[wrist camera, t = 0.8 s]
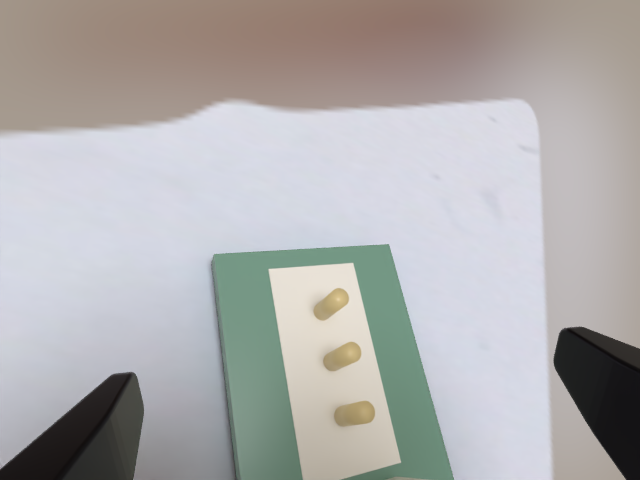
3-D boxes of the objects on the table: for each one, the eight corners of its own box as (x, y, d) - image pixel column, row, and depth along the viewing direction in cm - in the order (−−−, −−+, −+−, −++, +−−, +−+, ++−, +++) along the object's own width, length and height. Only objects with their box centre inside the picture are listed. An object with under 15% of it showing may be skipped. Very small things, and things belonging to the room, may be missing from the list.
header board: (502, 704, 19) (569, 750, 16) (277, 836, 15) (310, 932, 12) (381, 251, 26) (410, 225, 23) (211, 261, 23) (221, 232, 20)
